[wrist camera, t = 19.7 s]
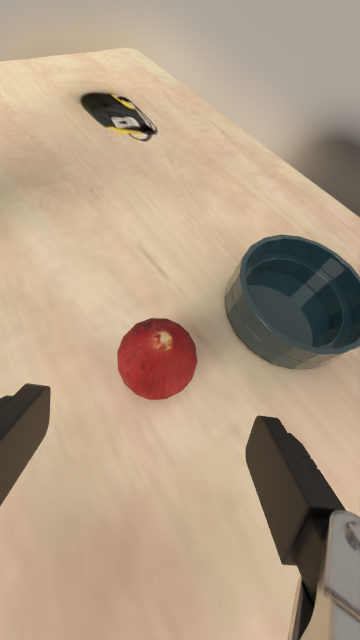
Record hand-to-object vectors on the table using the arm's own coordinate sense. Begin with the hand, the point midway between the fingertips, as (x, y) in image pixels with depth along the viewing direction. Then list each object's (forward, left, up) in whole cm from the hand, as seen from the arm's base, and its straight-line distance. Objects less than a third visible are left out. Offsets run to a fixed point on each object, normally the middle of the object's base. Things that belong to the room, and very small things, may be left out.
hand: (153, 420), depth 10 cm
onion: (-4, +4, -11) cm, 12 cm away
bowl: (-1, +19, -11) cm, 22 cm away
